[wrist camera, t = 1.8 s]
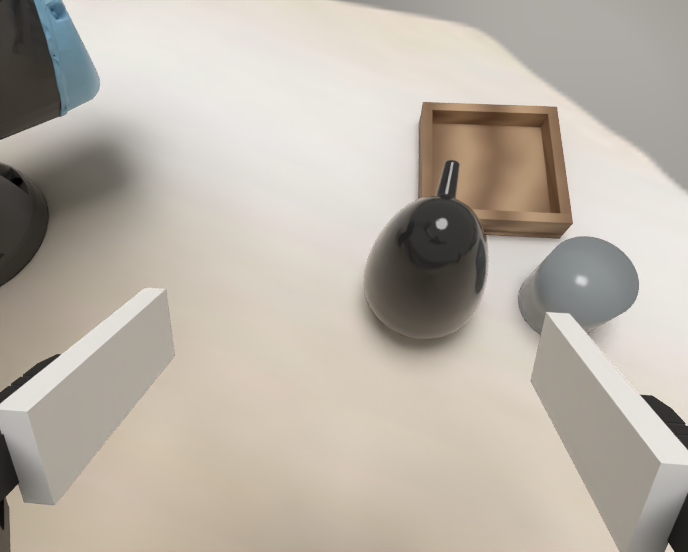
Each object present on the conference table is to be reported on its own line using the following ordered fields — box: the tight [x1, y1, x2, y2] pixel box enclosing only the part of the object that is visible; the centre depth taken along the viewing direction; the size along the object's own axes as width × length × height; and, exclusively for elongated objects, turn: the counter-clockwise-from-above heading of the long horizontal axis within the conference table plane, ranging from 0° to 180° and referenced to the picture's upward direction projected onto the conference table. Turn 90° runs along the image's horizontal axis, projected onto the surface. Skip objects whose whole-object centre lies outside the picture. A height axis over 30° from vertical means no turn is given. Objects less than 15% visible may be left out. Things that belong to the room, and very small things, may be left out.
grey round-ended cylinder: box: [518, 237, 639, 335], centre depth 38 cm, size 7×7×7 cm
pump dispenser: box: [364, 160, 488, 339], centre depth 35 cm, size 10×10×15 cm
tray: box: [418, 102, 573, 238], centre depth 46 cm, size 14×14×3 cm
